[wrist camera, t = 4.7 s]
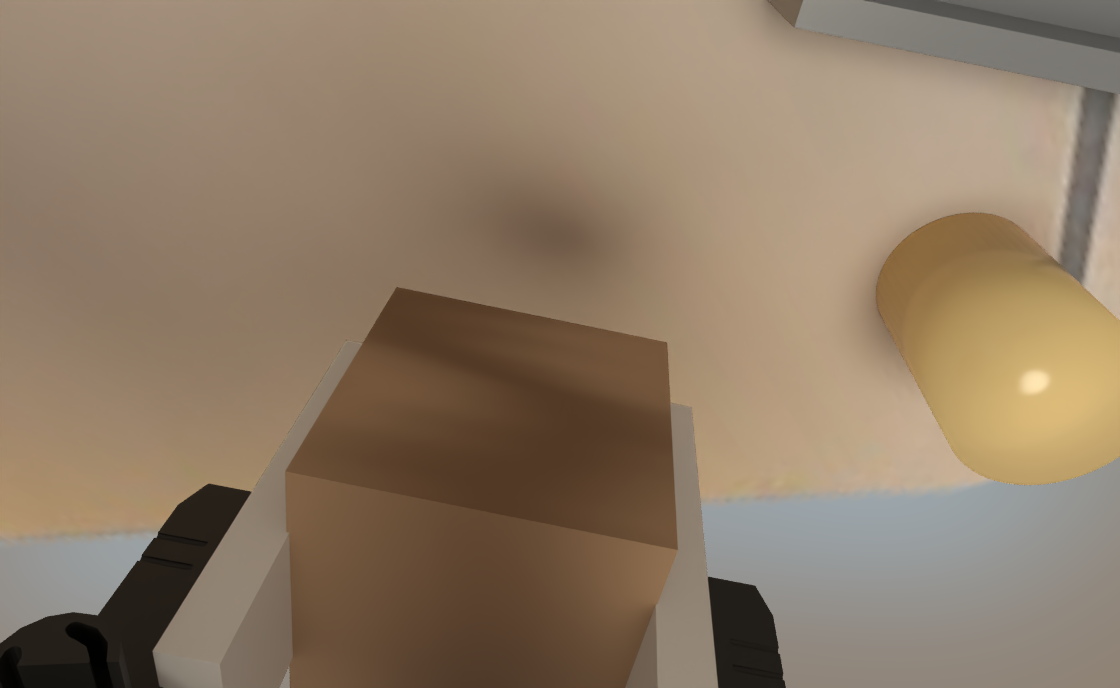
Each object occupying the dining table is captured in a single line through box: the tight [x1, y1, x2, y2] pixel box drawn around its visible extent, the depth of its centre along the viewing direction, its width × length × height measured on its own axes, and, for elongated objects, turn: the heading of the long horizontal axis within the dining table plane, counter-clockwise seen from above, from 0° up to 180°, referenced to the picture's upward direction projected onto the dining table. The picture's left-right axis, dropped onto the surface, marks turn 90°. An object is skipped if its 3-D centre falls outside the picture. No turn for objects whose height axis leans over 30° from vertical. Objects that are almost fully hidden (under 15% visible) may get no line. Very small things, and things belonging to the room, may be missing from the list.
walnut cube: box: [285, 287, 678, 688], centre depth 13 cm, size 5×5×5 cm
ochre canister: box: [876, 213, 1120, 485], centre depth 22 cm, size 5×5×7 cm
